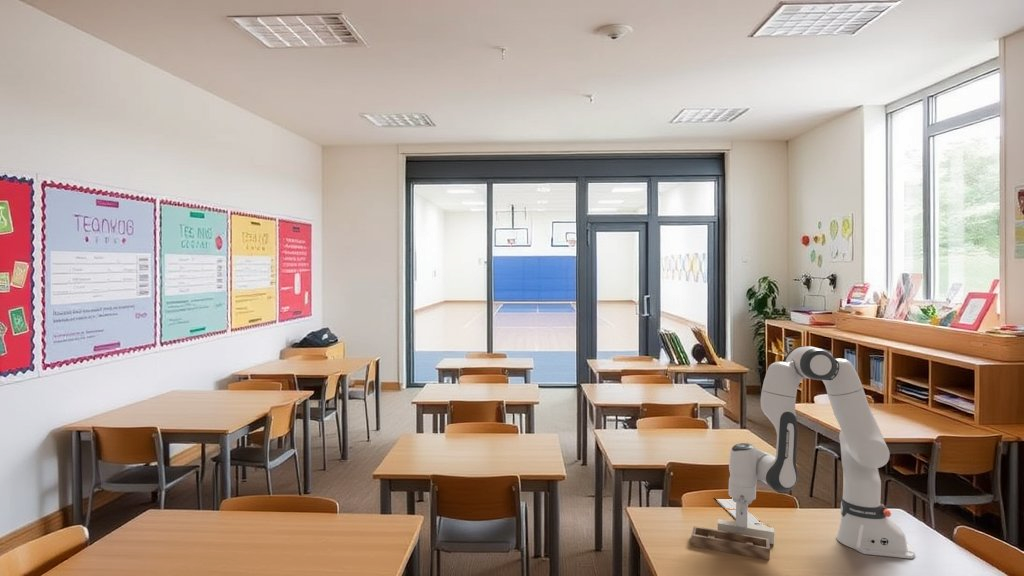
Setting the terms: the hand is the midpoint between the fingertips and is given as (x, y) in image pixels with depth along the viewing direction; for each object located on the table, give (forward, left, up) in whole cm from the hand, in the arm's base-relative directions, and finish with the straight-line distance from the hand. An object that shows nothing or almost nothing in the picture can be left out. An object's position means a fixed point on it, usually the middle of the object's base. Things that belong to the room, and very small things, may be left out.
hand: (741, 531), depth 204 cm
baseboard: (+1, -24, -3) cm, 24 cm away
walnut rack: (+3, +10, -2) cm, 11 cm away
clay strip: (-1, 0, -2) cm, 2 cm away
